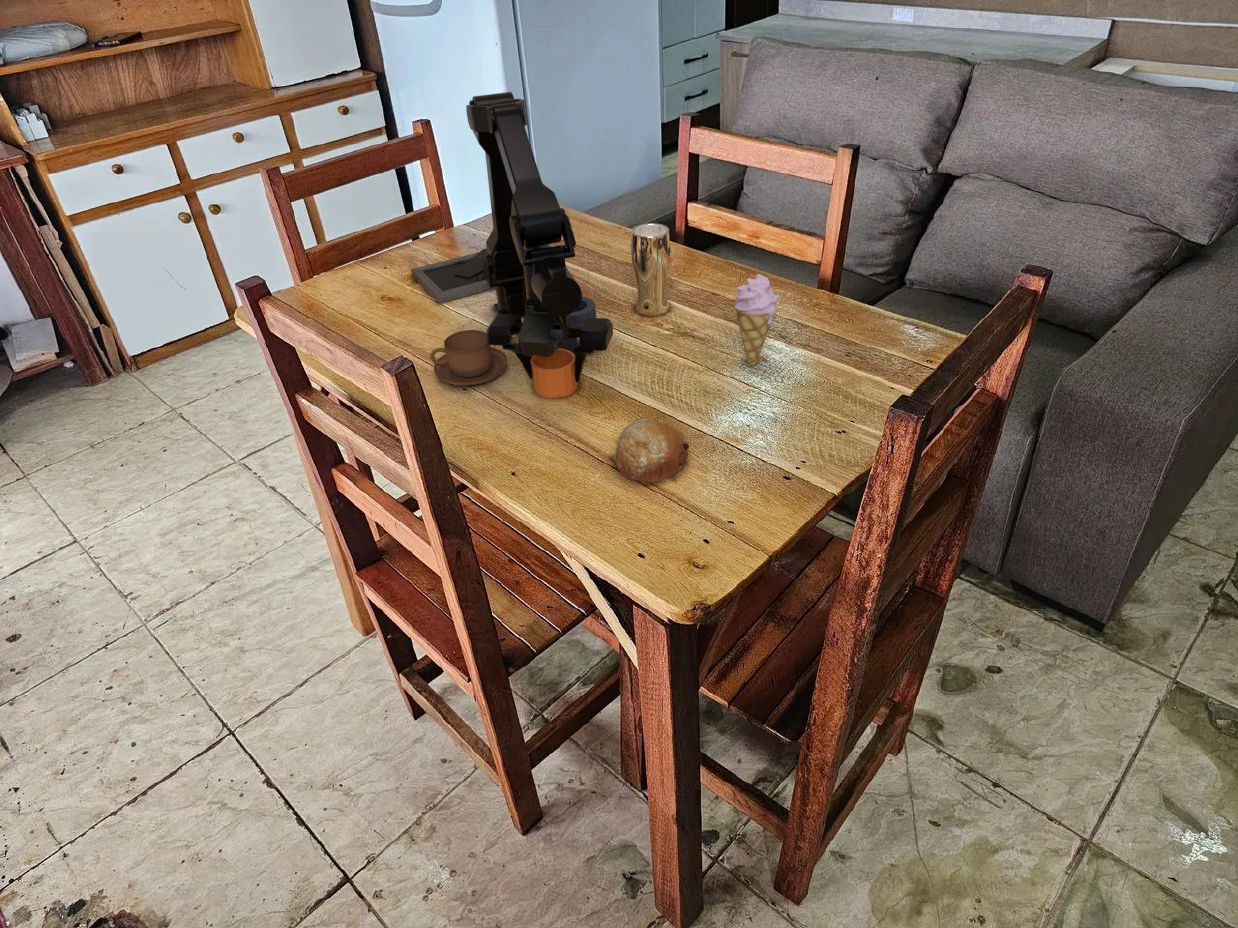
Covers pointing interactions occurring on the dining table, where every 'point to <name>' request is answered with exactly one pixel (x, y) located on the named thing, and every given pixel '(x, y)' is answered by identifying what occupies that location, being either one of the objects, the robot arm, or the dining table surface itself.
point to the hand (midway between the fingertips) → (555, 379)
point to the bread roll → (650, 451)
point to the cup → (554, 374)
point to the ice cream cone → (755, 314)
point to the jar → (580, 319)
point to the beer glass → (651, 267)
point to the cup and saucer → (468, 359)
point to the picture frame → (453, 277)
